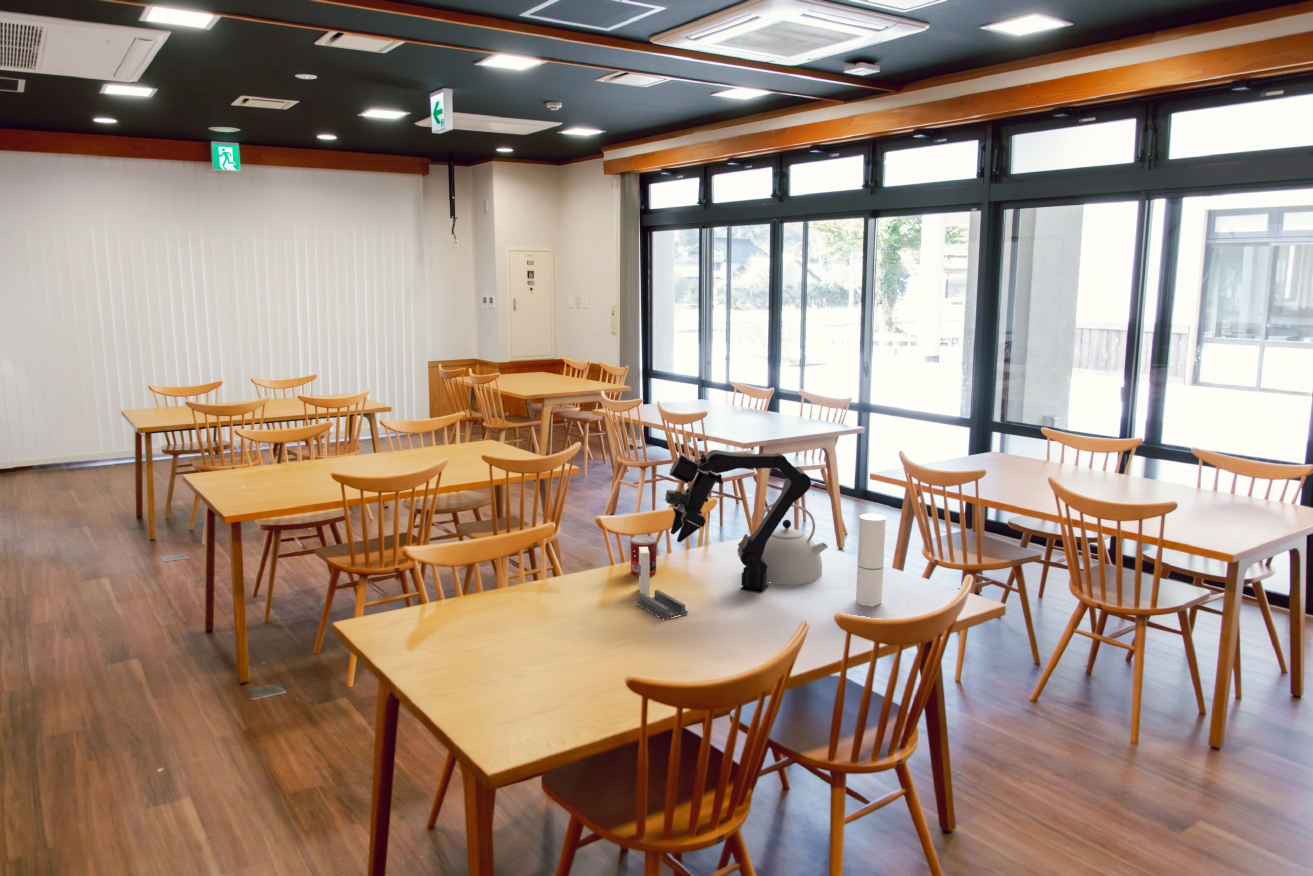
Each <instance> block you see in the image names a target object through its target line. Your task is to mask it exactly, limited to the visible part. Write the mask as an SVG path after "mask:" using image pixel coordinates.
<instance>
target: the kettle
mask: <svg viewBox="0 0 1313 876" xmlns="http://www.w3.org/2000/svg"><path fill="white" fill-rule="evenodd" d="M774 503H775V502H774ZM774 503H771V504H769V505H768V506H767V507H765V509H764V510H763V511H762V515H761V517H760V518H761V520H760V523H761V522H762V521H763V519H764V518H765V516H766V513H767V511H768V510H770V509H771V508H772V506H773V505H774ZM791 507H793V508H796V509H798V510H802V511H803V512H805V513H806V514H807V515H808V516H809V518H810V519H811V523H812V527H811V528H812V530H811V533H810V535H809V536H808V535H806V534H805V533H803V532H802V531H800V530H798V529H796V528H795V529H794V528H791V525H792V522H791V520H789V519H785V520H783V521H782V526H783V528H776V529H775V530H774V532H773V533H772V535H771V536H770V538H769V539H768V540H767V542H766V545H765V549H764V552H763V555H762V558H763V559H764V561H765V563H766V565H767V578H766V583H769V582H771V583H770V584H775V583H778V584H777V585H785V584H787V585H789V586H792V585H793V586H794V585H796V586H797V585H805V584H810V583H813V582H814V583H815V582H816V581H819V580H820V579H821V578H822V577H823V562H822V557H821V552H823V551H825V550H826V549H827V548H828V547H829V546H828V544H826V543H824V542H820V543H816V544H815V542H814V541H813V540H812V538H813V536H814V534H815V532H816V521H815V518H814V516H813V515H812V513H811V512H810V511H809V510H808V509H806V508H804V507H802V506H801V505H798V504H795V503H793V504H792V505H791ZM821 576H822V577H821ZM787 585H786V586H787Z"/></svg>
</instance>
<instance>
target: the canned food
mask: <svg viewBox="0 0 1313 876" xmlns="http://www.w3.org/2000/svg"><path fill="white" fill-rule="evenodd" d="M639 547H648V550H649V577H653V576H654V575H656V573H657V538H655V537H653V536H650V535H636V536H634V537H631V538H630V572H631V574H632V575H633V574H634V575H633V576H635V575H637V576H636V577H639ZM634 550H635V552H633V551H634ZM634 555H636V557H634Z"/></svg>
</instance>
